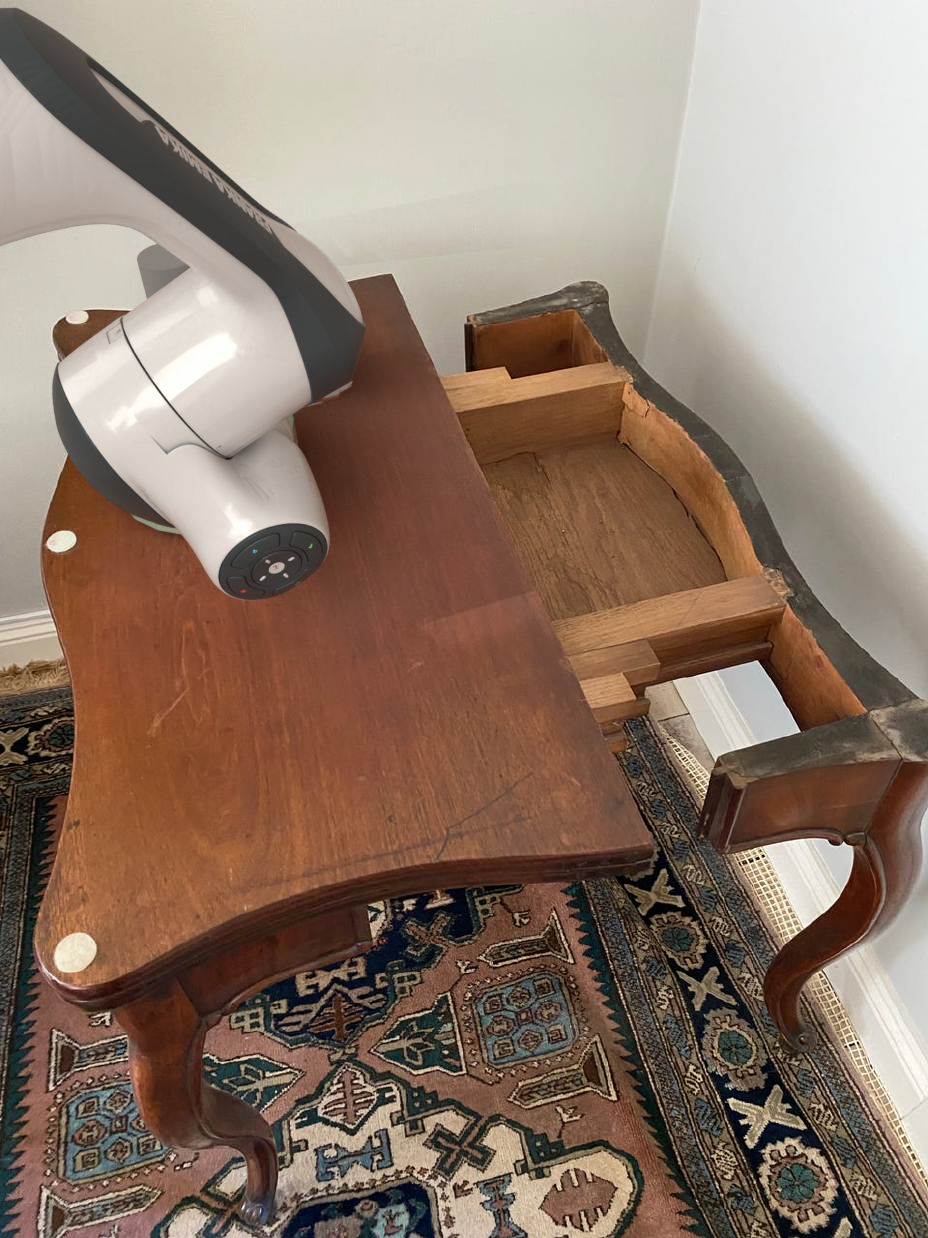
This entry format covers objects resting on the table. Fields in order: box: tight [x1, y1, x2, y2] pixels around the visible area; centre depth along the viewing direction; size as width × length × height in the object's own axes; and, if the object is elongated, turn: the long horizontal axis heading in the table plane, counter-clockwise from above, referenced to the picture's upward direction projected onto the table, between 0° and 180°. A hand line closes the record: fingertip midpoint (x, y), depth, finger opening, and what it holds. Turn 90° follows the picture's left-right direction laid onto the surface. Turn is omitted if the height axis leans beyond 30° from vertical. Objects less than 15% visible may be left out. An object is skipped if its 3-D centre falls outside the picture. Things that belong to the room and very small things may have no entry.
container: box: [136, 243, 190, 300], centre depth 73 cm, size 5×5×15 cm
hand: (184, 328), depth 73 cm, fingers closed on container, 4 cm apart
